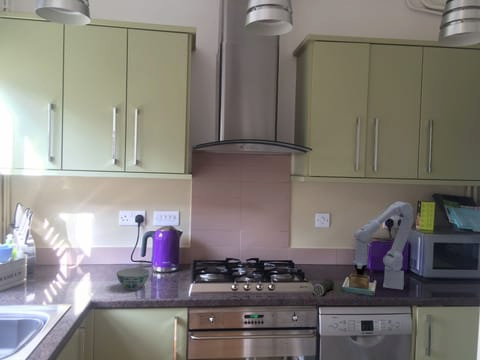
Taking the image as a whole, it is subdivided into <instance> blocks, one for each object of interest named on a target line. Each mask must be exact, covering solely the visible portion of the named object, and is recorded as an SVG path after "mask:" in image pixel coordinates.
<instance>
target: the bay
mask: <svg viewBox="0 0 480 360" xmlns="http://www.w3.org/2000/svg"><path fill="white" fill-rule="evenodd" d="M349 277H350V276H347V277H346V278H345V280H344V282H343V284H342V286H341V292H345V293H346V292H347V293H352V294H353V293H354V294H360V295H366V296H375V292H376V287H377V280H373V282H370V281H369V289H368V290H364V289H357V288H350V287H349Z"/></svg>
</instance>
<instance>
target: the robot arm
mask: <svg viewBox="0 0 480 360" xmlns="http://www.w3.org/2000/svg"><path fill="white" fill-rule="evenodd" d="M394 216H398V218H399V219H400V224H399V227H398V230H397V232H396V235H395V237H394V240H393V243H392V246H391V249H389V250H388V251H387V252H386V255H384V256H383V258H382V263H383V265H384V275H383V277H384V280H383V284H382V287H383V288H388V289H395V290H402V291H403V290H404V286H405V282H404V278H405V277H404V274H405V271H404V270H401V269H402V268H403V260H404V256H403V252H404V248H405V245H406V243H407V241H408V238H409V234H410V233H411V232H410V231H411V229H412V227H413V224H414V221H415V220H414V207H413V206H412V204H410V202H404V201H399V200H398V201H395V202H393V204H391V205H389V207H388V208H387V209H386V210H385V211H383V212H382V213H381V214H380V215H379V216H378V217H377V218H376V219H371V220H368V221H367V223H366V224H365V225H364V226H361V227H360V229H357V230H356V231H355V233H354V234H353V236H354V238H355V254H354V255H355V257H354V259H355V260H352V263H354V264H355V265H354V268H355V271H356V274H359V275H365V271H366V269H367V264H368V261H367V260H368V242H369V240H370V239H371V236H373V235H374V233H377V231H379V230H380V228H381V225H382V224H384V223H385V222H386V221H387V220H389V219H390V218H392V217H394Z"/></svg>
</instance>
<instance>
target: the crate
mask: <svg viewBox="0 0 480 360" xmlns="http://www.w3.org/2000/svg"><path fill="white" fill-rule="evenodd" d="M348 277H349V287H350V288H357V289H364V290H368V289H369V282H370V275H366V274H364V275H359V274H357V273H350V275H349V276H348Z"/></svg>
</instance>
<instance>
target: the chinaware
mask: <svg viewBox="0 0 480 360" xmlns="http://www.w3.org/2000/svg"><path fill="white" fill-rule="evenodd" d="M116 275H117V276H116V277H117V279H118V282H119V283H120V284H121V285H122V287H124V288H125V290H128V291H137V290H140V288H141V287H142V286H143V285H144V284H145V283H146V282H147V281H148V279H149V276H150V270H149V269H147V268H142V267H129V268H123V269H119V270H117V272H116Z"/></svg>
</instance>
